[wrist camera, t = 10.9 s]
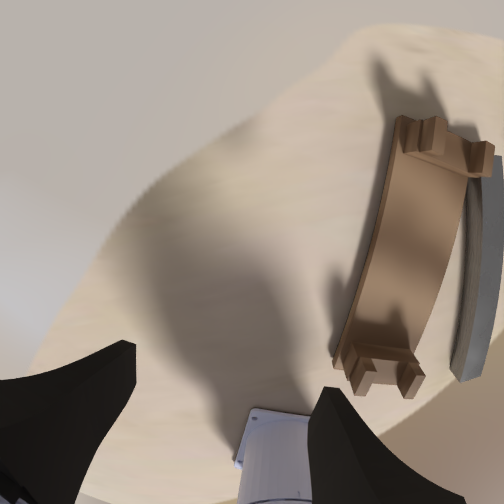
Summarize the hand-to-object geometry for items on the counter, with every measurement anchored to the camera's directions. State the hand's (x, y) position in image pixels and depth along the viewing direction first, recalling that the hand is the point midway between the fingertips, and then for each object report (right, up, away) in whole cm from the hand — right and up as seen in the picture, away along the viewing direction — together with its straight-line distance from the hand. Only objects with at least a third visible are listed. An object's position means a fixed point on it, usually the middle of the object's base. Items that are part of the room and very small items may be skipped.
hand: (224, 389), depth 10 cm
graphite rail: (+19, +4, +9) cm, 21 cm away
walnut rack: (+12, +5, +9) cm, 15 cm away
